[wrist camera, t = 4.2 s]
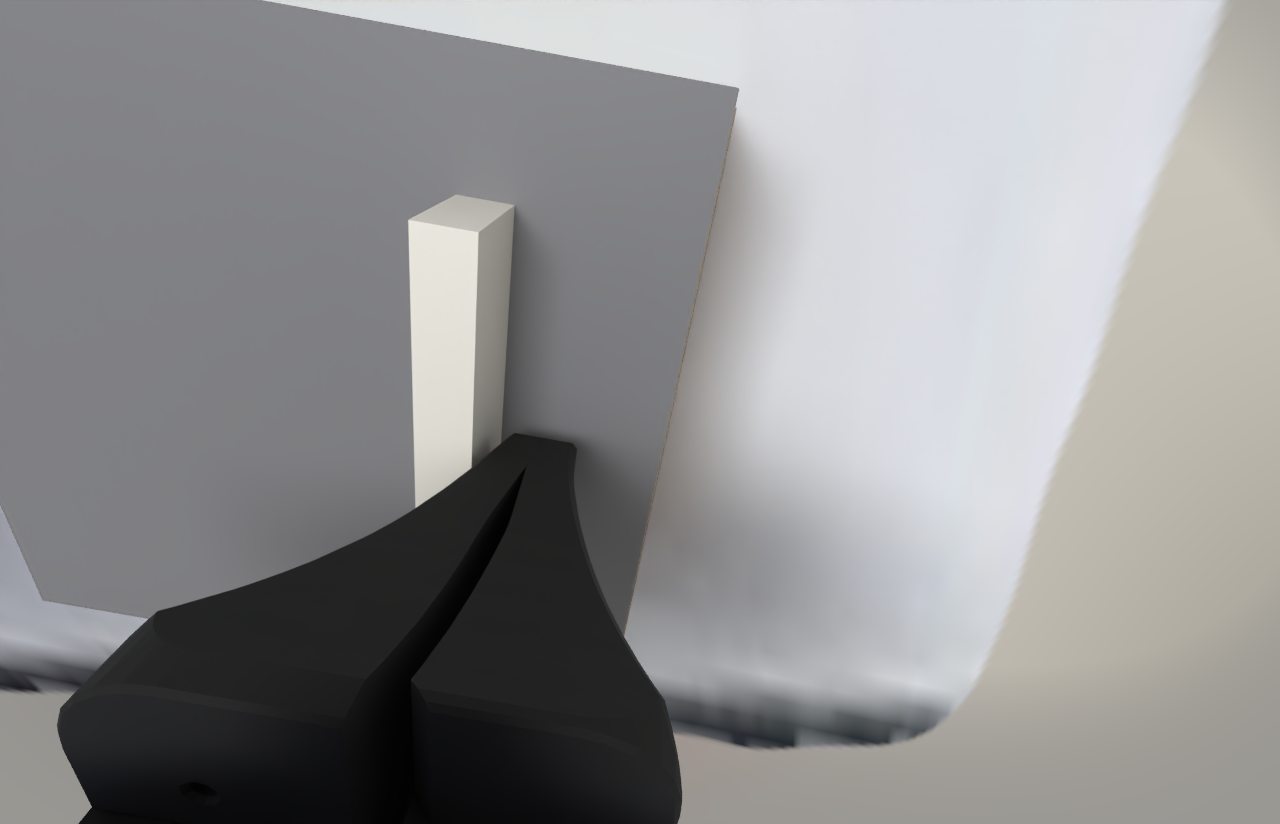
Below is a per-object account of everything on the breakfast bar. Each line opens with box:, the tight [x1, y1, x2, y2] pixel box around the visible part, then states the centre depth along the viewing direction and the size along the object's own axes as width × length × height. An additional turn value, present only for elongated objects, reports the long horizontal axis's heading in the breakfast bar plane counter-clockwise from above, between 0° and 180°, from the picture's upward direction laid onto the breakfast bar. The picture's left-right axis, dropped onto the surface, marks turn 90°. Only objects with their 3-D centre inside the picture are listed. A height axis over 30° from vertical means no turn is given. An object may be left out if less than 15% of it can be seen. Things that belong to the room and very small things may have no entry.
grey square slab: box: [0, 0, 739, 634], centre depth 13 cm, size 15×15×4 cm
